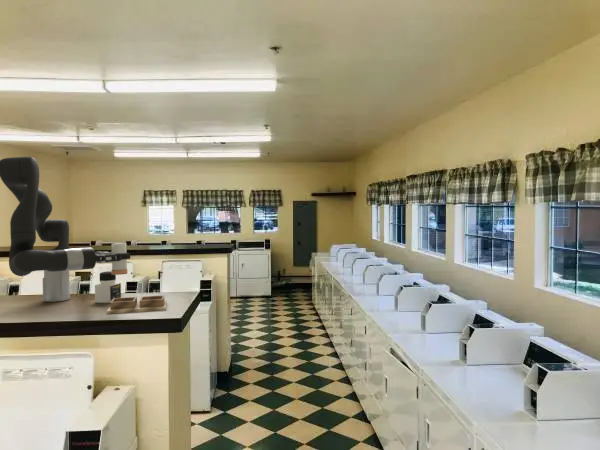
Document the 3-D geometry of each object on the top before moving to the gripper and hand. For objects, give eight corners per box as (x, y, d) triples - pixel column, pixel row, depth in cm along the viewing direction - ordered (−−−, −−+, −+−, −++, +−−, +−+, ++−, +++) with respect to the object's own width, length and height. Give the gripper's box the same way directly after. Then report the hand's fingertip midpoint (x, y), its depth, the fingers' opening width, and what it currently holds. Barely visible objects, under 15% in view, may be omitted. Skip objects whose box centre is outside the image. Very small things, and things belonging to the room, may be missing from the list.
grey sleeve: (110, 274, 164) (109, 244, 164) (112, 273, 169) (112, 243, 169) (126, 274, 165) (125, 244, 165) (128, 272, 171) (127, 243, 170)
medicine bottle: (110, 303, 181) (110, 273, 180) (94, 302, 182) (94, 272, 182) (121, 299, 188) (120, 270, 187) (105, 299, 189) (105, 270, 189)
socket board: (106, 313, 162) (106, 304, 161) (112, 306, 175) (112, 297, 175) (165, 310, 167) (165, 300, 167) (166, 302, 180) (166, 293, 180)
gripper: (86, 249, 152) (135, 246, 164) (70, 247, 162) (117, 244, 174) (86, 271, 152) (135, 266, 164) (71, 268, 162) (118, 264, 174)
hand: (126, 255), depth 169 cm, fingers closed on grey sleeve, 5 cm apart
